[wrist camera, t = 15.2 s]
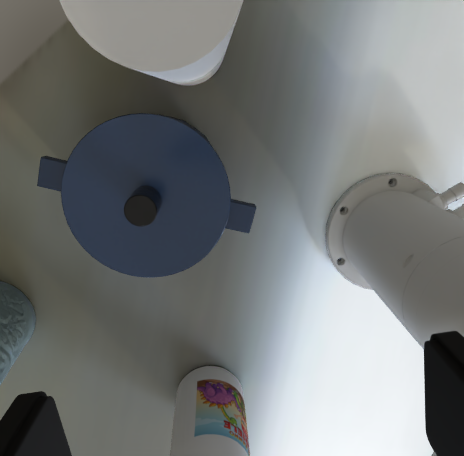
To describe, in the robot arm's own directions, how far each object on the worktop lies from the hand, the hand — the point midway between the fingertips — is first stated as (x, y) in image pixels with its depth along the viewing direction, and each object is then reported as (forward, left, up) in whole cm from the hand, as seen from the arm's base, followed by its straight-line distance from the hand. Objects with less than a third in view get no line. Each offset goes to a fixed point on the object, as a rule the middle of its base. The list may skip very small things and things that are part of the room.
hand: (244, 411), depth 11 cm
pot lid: (+5, -3, -26) cm, 26 cm away
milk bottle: (+14, +21, -34) cm, 43 cm away
